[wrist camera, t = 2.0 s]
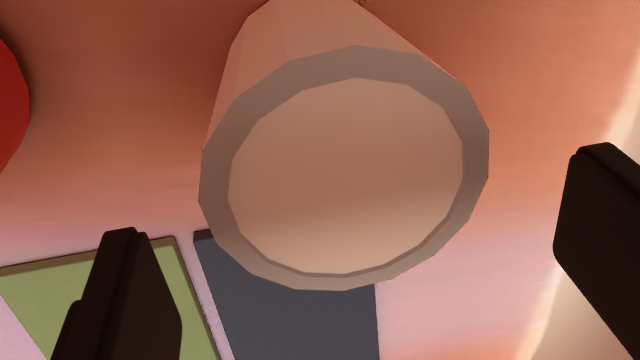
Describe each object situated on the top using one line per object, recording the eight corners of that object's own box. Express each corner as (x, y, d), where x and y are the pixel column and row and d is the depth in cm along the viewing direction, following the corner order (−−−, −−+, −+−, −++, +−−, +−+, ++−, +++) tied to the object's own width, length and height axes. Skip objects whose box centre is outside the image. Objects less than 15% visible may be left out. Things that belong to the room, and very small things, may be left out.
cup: (245, -71, 14) (255, -7, 9) (442, 14, 17) (552, 107, 11) (184, 128, 18) (163, 269, 12) (356, 176, 20) (406, 312, 14)
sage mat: (-7, 268, 20) (-12, 279, 19) (174, 235, 20) (172, 245, 20) (103, 424, 27) (101, 435, 26) (236, 397, 27) (236, 407, 27)
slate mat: (193, 232, 20) (192, 241, 20) (365, 200, 21) (368, 209, 20) (250, 394, 27) (250, 404, 27) (378, 368, 28) (381, 378, 27)
